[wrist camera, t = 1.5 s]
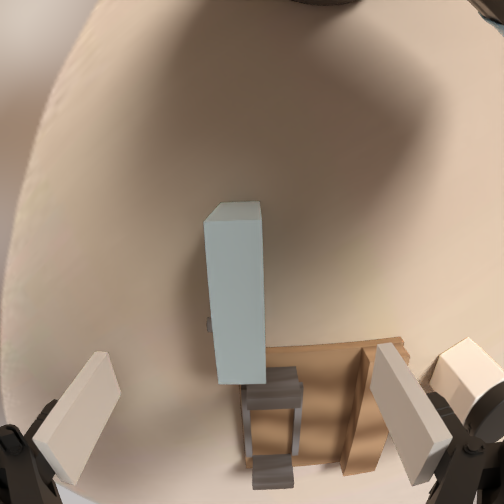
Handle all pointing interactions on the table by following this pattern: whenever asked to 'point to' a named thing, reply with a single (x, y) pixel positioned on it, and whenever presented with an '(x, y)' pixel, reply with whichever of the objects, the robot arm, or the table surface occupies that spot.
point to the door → (236, 291)
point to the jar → (472, 389)
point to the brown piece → (314, 411)
